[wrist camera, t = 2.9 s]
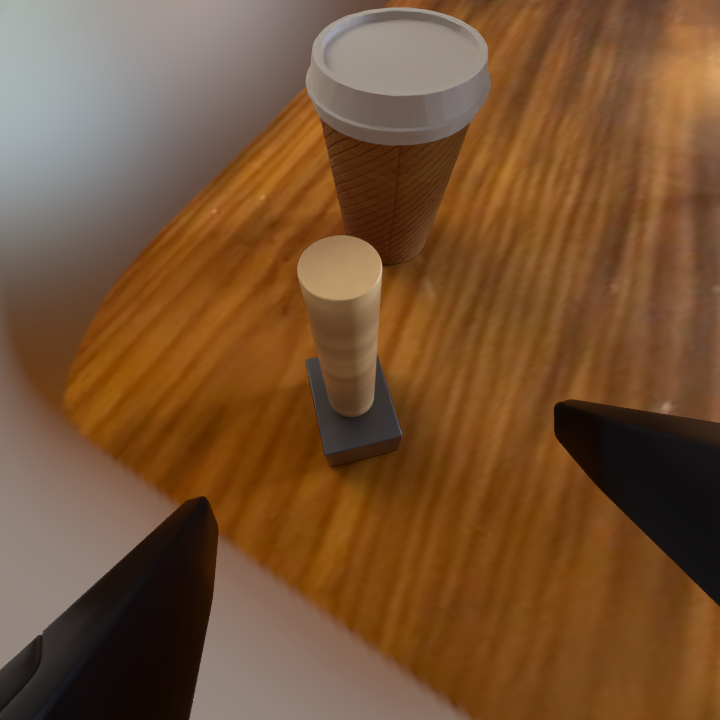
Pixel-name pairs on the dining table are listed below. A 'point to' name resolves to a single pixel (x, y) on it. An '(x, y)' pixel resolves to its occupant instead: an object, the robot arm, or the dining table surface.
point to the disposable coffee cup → (395, 117)
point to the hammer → (347, 349)
